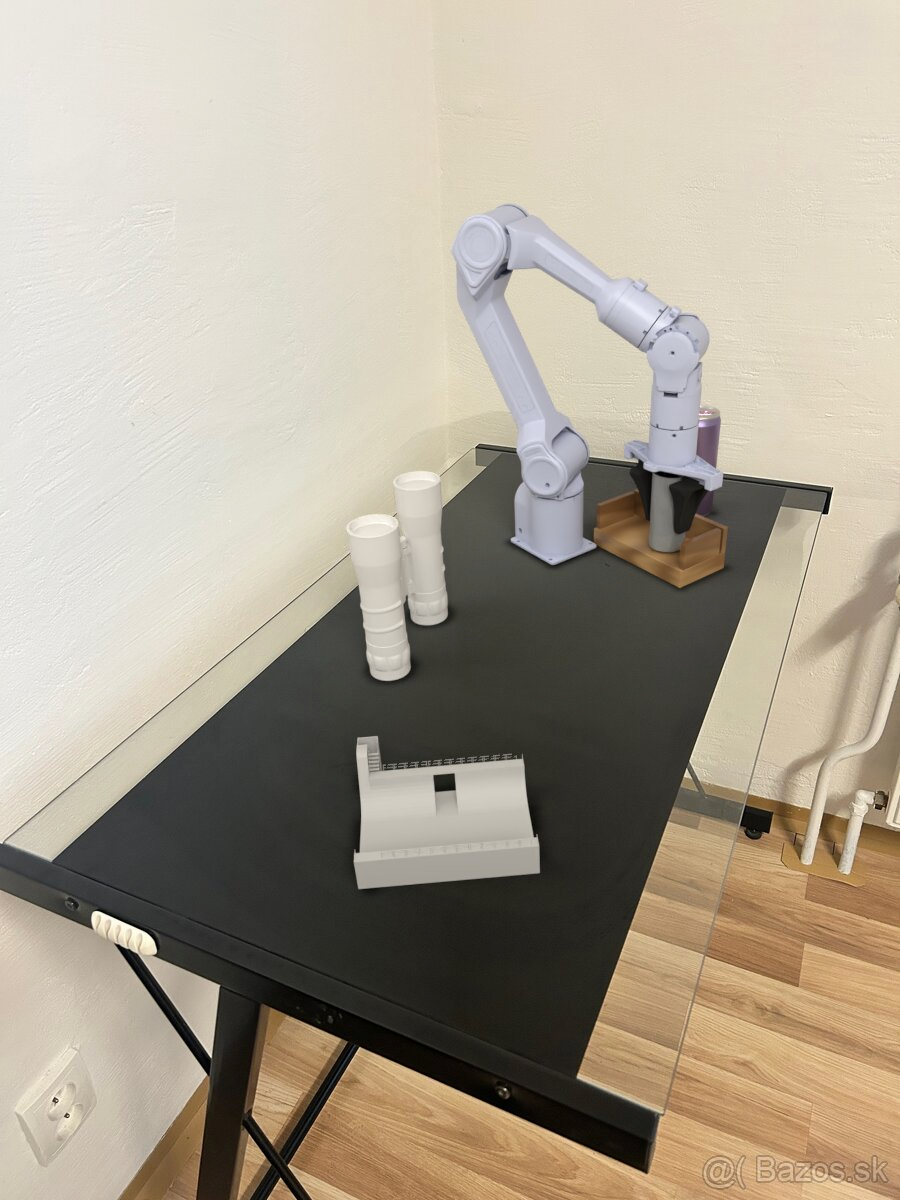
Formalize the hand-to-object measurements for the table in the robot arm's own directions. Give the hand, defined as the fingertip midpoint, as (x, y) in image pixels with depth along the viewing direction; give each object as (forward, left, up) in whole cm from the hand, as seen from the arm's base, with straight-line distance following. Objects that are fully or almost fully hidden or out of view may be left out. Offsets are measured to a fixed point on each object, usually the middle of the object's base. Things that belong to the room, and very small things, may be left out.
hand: (667, 524), depth 112 cm
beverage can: (-9, +14, -6) cm, 18 cm away
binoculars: (-6, -36, -6) cm, 36 cm away
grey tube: (0, 0, -3) cm, 3 cm away
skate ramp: (+21, -49, -6) cm, 53 cm away
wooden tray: (-3, +1, -6) cm, 6 cm away
